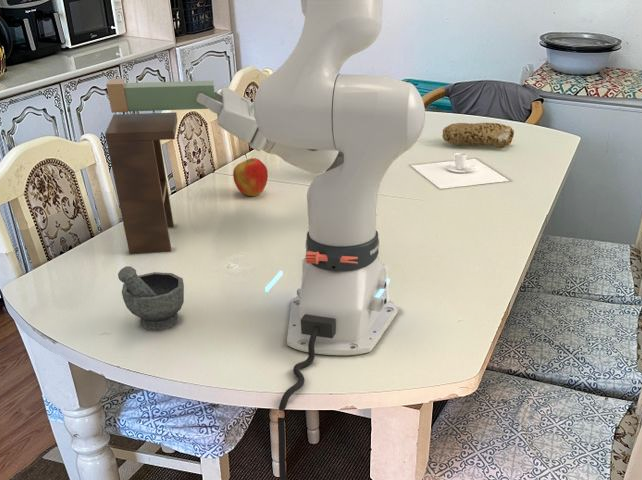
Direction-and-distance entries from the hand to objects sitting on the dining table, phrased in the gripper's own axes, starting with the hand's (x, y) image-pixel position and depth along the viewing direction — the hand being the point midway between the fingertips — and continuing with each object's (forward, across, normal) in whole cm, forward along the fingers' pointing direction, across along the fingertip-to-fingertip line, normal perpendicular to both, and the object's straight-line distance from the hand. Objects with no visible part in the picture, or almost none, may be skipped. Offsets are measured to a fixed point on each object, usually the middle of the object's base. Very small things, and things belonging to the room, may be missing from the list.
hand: (197, 92), depth 138 cm
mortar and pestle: (-6, +41, +29) cm, 51 cm away
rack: (-6, +4, +29) cm, 30 cm away
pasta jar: (+4, 0, +6) cm, 7 cm away
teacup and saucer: (-70, -27, -7) cm, 75 cm away
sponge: (-81, -51, -14) cm, 97 cm away
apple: (-22, -19, +20) cm, 36 cm away
